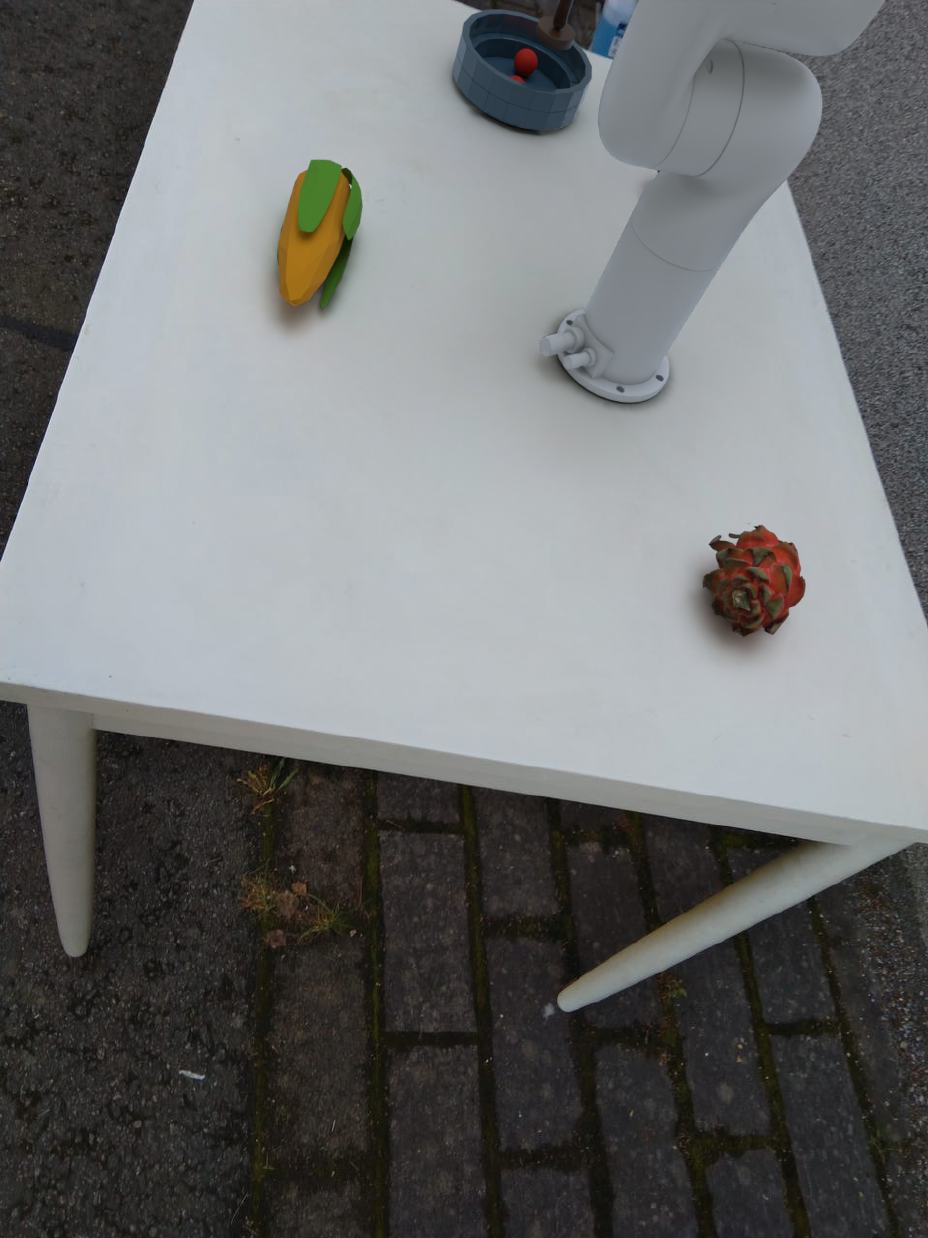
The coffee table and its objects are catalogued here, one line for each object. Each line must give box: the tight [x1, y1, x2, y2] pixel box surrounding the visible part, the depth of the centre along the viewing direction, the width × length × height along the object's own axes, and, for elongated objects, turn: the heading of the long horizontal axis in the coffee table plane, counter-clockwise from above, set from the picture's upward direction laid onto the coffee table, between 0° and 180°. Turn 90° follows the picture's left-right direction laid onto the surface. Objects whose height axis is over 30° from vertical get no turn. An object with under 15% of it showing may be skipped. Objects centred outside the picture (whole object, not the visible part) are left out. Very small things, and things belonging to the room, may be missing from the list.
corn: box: [276, 159, 363, 308], centre depth 87 cm, size 7×8×20 cm
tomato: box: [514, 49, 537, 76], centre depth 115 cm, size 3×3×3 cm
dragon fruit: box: [701, 523, 807, 638], centre depth 80 cm, size 8×8×12 cm
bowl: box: [451, 9, 593, 131], centre depth 113 cm, size 17×17×6 cm
